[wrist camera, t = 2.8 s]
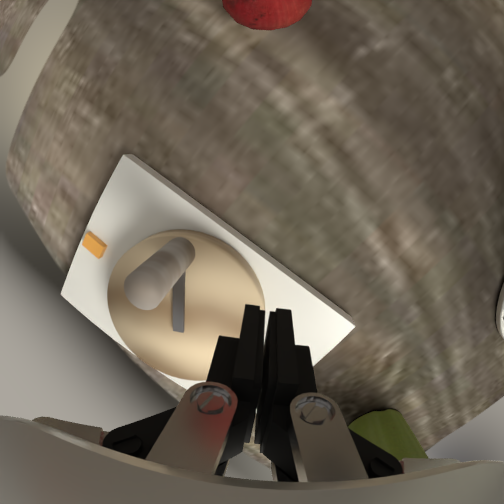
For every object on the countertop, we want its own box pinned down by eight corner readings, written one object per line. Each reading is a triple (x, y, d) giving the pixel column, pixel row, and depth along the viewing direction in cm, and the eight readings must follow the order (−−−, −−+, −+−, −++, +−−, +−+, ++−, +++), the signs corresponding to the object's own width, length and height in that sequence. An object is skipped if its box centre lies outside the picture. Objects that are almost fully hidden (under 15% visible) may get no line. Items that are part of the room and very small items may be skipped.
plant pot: (306, 448, 29) (308, 526, 19) (359, 385, 26) (383, 478, 15) (382, 457, 30) (397, 522, 19) (438, 399, 26) (471, 471, 15)
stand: (351, 317, 23) (357, 330, 21) (245, 411, 28) (243, 425, 26) (132, 154, 21) (119, 154, 19) (69, 288, 25) (57, 297, 23)
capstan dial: (254, 376, 24) (244, 449, 16) (125, 349, 25) (84, 406, 17) (276, 241, 20) (273, 292, 13) (116, 220, 21) (48, 253, 13)
